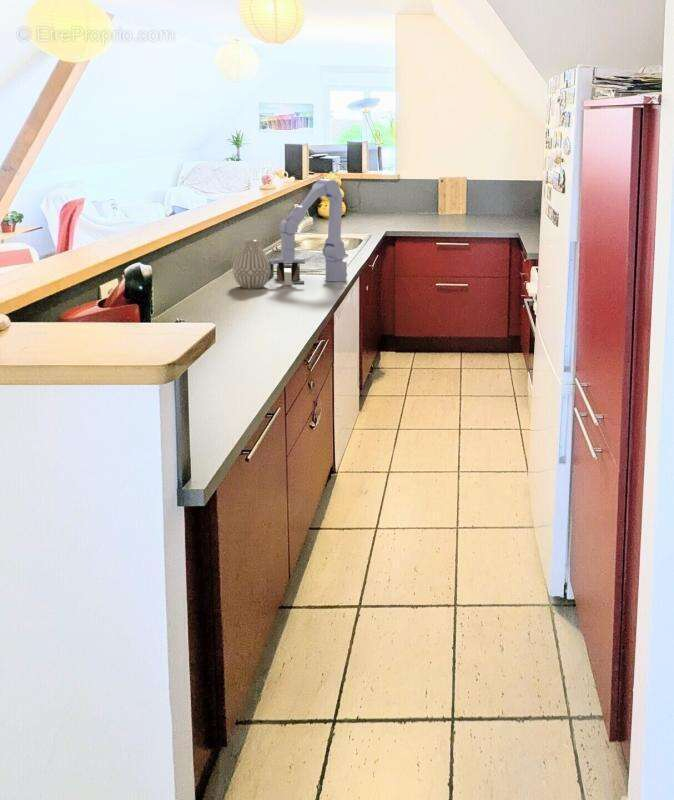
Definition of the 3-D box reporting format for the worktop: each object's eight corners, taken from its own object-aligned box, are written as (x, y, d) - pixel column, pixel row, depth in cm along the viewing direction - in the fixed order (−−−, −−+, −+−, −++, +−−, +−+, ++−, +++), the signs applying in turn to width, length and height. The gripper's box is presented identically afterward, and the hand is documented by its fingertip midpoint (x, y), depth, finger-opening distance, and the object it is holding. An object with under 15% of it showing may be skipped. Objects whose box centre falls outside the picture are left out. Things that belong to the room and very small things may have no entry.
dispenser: (299, 277, 442) (299, 261, 440) (299, 280, 434) (299, 264, 432) (277, 276, 441) (277, 261, 439) (276, 279, 434) (276, 264, 432)
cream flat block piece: (291, 280, 432) (291, 268, 431) (291, 285, 421) (291, 272, 419) (284, 280, 432) (284, 268, 430) (284, 285, 420) (284, 272, 419)
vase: (256, 292, 405) (255, 243, 399) (225, 288, 413) (224, 240, 407) (278, 286, 418) (278, 239, 412) (247, 282, 426) (247, 236, 420)
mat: (304, 281, 430) (304, 280, 430) (304, 284, 424) (304, 283, 424) (292, 281, 429) (292, 280, 429) (292, 284, 424) (292, 283, 424)
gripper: (304, 247, 423) (304, 279, 427) (270, 247, 422) (270, 278, 426) (305, 249, 416) (305, 281, 420) (270, 249, 415) (270, 281, 419)
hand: (287, 280), depth 422 cm, fingers closed on cream flat block piece, 3 cm apart
